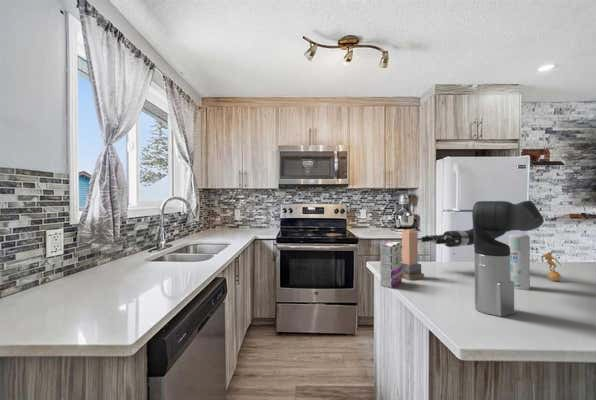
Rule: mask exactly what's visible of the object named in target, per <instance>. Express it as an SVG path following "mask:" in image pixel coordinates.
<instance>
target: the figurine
mask: <svg viewBox="0 0 596 400" xmlns="http://www.w3.org/2000/svg"><path fill="white" fill-rule="evenodd" d="M552 255H553V253H552V251H549V252H548V253H545V254H543V255H541V256H540V257H541V261H542V263H544V262H545V260H544V258H545V259H546V263H547V264H548V265H549V267H548V268H549V270H550V272H549V273H548V274H547V275H548V279H549V280H551V281H553V282H558V281H560V280H561V279H562V276H561V274H560V273H559V272H557V271H556V270H555V269H556V267H557V264H559V265H560V267H562V264H561V262H559V260H557V258H555V257H554V256H552ZM552 260H554V261H555V262H556V263H557V264H556V263H555V262H554V261H552Z"/></svg>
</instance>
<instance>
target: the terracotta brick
mask: <svg viewBox="0 0 596 400" xmlns="http://www.w3.org/2000/svg"><path fill="white" fill-rule="evenodd" d="M418 244H419V243H418V231H413V229H406V230H405V231H404V230H403V231H401V263H404V264H408V265H414V264H419V263H418V262H419V261H418V258H419V257H418V256H419V255H418V253H419V252H418V250H419V248H418V247H419V245H418Z"/></svg>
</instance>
